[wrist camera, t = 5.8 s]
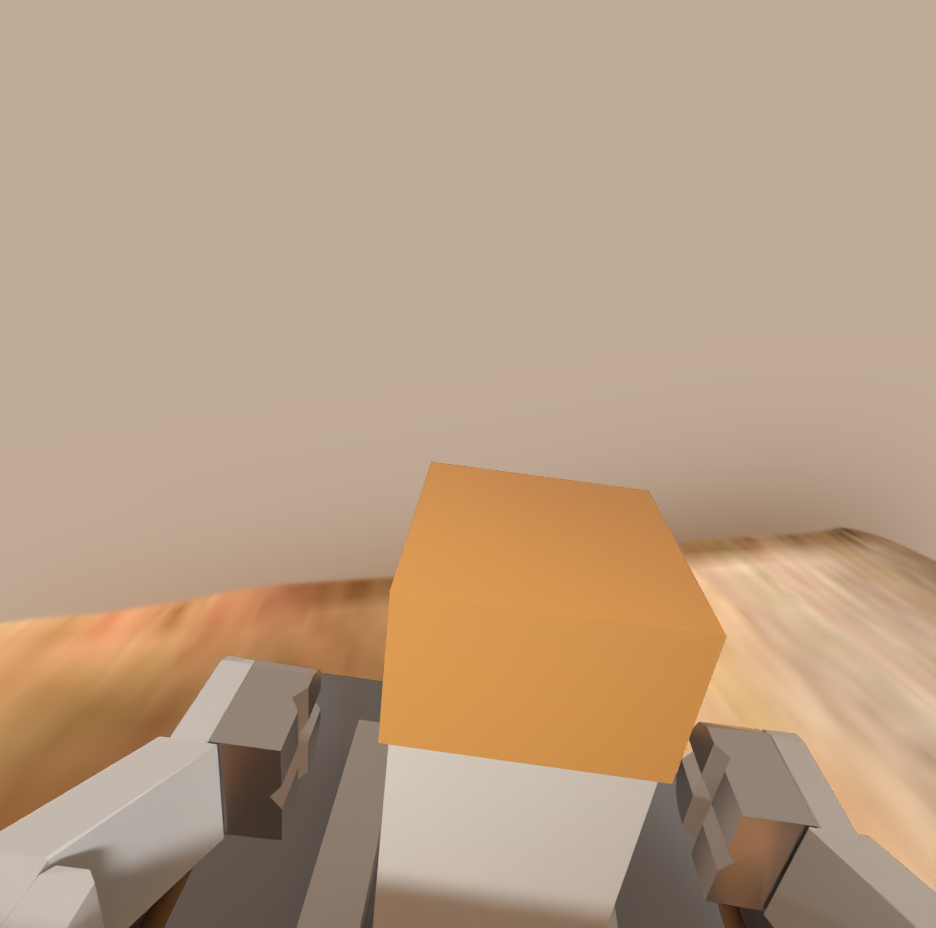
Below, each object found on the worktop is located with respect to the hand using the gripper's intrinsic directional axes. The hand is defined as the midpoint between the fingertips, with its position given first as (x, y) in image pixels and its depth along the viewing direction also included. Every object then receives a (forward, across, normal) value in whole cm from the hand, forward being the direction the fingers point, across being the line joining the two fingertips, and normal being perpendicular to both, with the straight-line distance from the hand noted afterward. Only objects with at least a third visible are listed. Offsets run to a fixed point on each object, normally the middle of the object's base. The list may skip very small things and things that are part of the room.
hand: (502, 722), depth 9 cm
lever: (-1, 0, +6) cm, 6 cm away
